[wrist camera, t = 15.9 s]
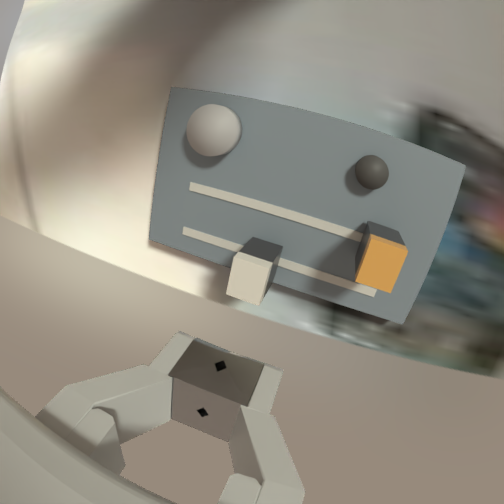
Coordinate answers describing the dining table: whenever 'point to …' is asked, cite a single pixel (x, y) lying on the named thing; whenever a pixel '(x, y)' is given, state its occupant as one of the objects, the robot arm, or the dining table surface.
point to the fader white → (253, 270)
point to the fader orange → (379, 257)
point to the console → (298, 194)
